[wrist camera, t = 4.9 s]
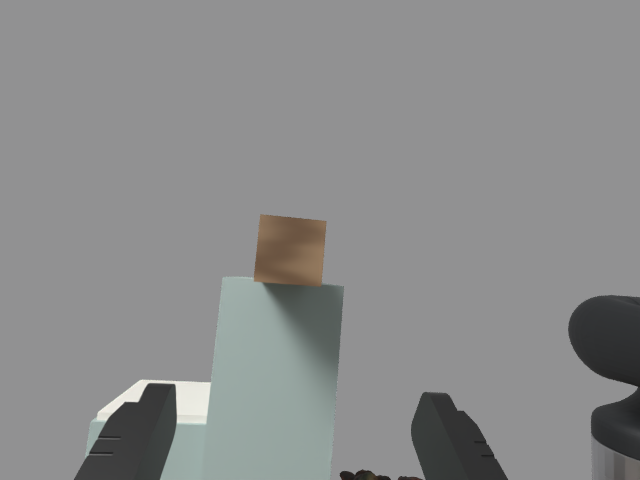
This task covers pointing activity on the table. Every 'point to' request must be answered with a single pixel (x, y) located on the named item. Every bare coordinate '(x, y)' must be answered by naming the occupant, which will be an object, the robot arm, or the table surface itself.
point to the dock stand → (258, 388)
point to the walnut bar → (290, 251)
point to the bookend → (369, 476)
